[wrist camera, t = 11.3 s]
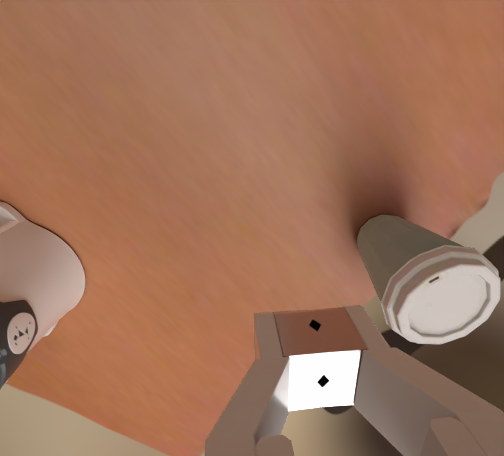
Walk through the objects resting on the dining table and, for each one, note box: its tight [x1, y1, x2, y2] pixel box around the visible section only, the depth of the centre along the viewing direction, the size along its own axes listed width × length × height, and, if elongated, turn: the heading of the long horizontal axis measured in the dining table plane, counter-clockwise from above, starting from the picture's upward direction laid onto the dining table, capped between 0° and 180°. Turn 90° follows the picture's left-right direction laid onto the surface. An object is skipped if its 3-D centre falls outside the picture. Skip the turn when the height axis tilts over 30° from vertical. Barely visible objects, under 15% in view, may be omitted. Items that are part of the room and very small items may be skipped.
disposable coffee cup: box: [357, 215, 500, 344], centre depth 34 cm, size 11×11×15 cm
